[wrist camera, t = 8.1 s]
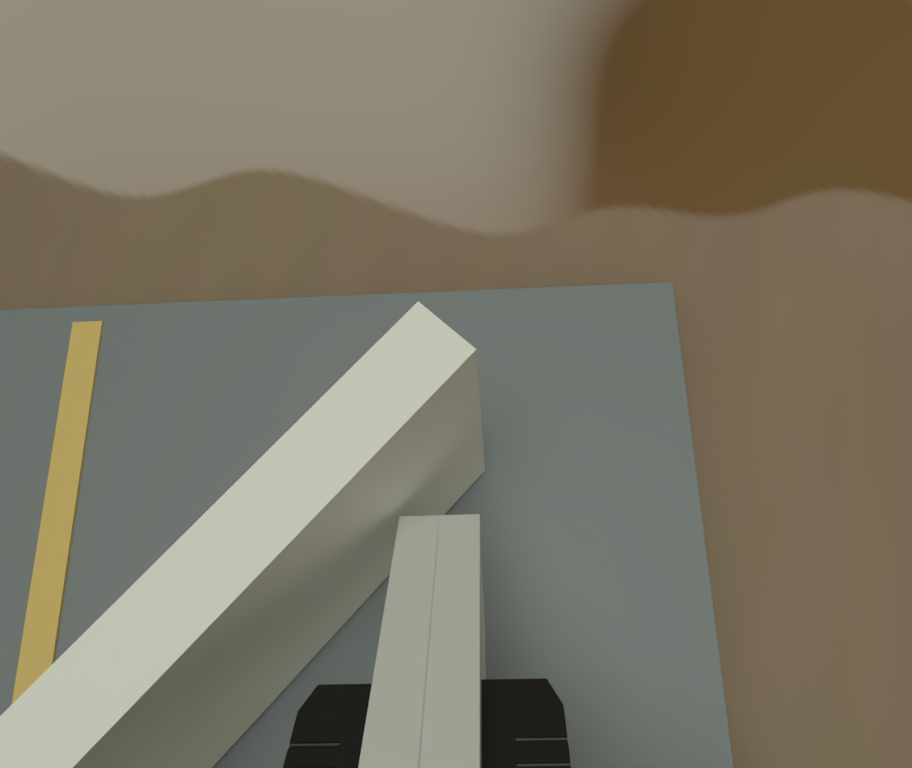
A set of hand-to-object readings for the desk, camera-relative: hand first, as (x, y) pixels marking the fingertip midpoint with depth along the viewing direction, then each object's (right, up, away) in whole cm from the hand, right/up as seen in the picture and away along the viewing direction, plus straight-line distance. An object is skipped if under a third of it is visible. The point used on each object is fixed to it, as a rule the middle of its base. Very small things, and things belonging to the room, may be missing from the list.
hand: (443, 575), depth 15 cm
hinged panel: (-4, -3, +3) cm, 5 cm away
